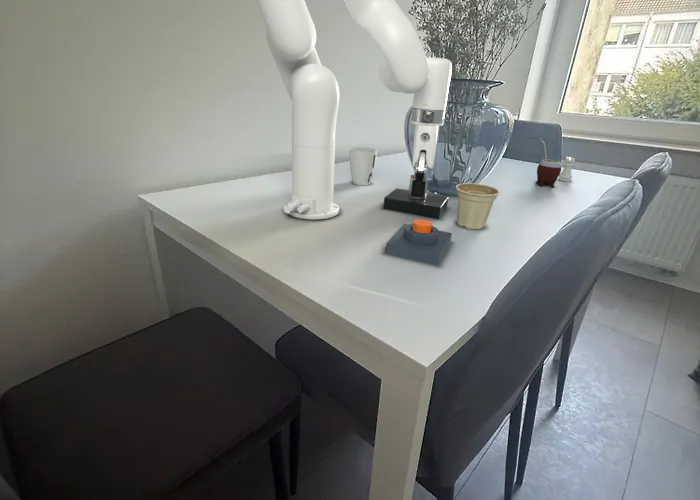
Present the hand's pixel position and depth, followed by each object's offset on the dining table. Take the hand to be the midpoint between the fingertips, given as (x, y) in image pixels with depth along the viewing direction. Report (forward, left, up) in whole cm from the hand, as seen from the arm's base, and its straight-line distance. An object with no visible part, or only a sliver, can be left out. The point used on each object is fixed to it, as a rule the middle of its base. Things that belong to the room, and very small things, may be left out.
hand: (417, 193), depth 97 cm
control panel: (0, 0, -4) cm, 4 cm away
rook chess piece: (+61, -38, -4) cm, 72 cm away
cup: (+15, +21, -4) cm, 26 cm away
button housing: (-24, -7, -4) cm, 25 cm away
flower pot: (-5, -14, -4) cm, 16 cm away
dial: (0, 0, -1) cm, 1 cm away
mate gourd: (+49, -31, -4) cm, 58 cm away
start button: (-24, -7, 0) cm, 25 cm away
